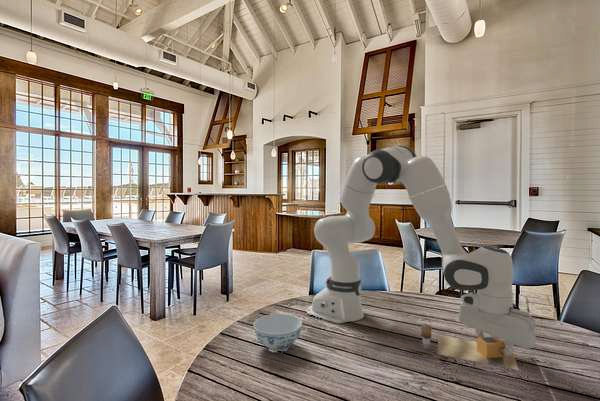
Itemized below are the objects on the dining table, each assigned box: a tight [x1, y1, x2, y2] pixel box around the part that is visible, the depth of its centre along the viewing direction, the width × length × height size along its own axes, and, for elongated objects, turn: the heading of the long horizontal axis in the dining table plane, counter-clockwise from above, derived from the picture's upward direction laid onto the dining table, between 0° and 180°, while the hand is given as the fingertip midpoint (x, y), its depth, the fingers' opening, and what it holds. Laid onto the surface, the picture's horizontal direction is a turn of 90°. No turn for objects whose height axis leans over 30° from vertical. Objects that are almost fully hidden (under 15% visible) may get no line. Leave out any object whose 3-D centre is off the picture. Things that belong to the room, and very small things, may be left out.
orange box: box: [476, 336, 507, 358], centre depth 93 cm, size 6×4×4 cm, turn 98°
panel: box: [436, 334, 520, 371], centre depth 95 cm, size 20×13×1 cm, turn 64°
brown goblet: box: [420, 323, 432, 351], centre depth 97 cm, size 4×4×8 cm
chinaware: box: [253, 313, 303, 351], centre depth 101 cm, size 15×15×8 cm
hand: (494, 349), depth 94 cm, fingers closed on orange box, 5 cm apart
